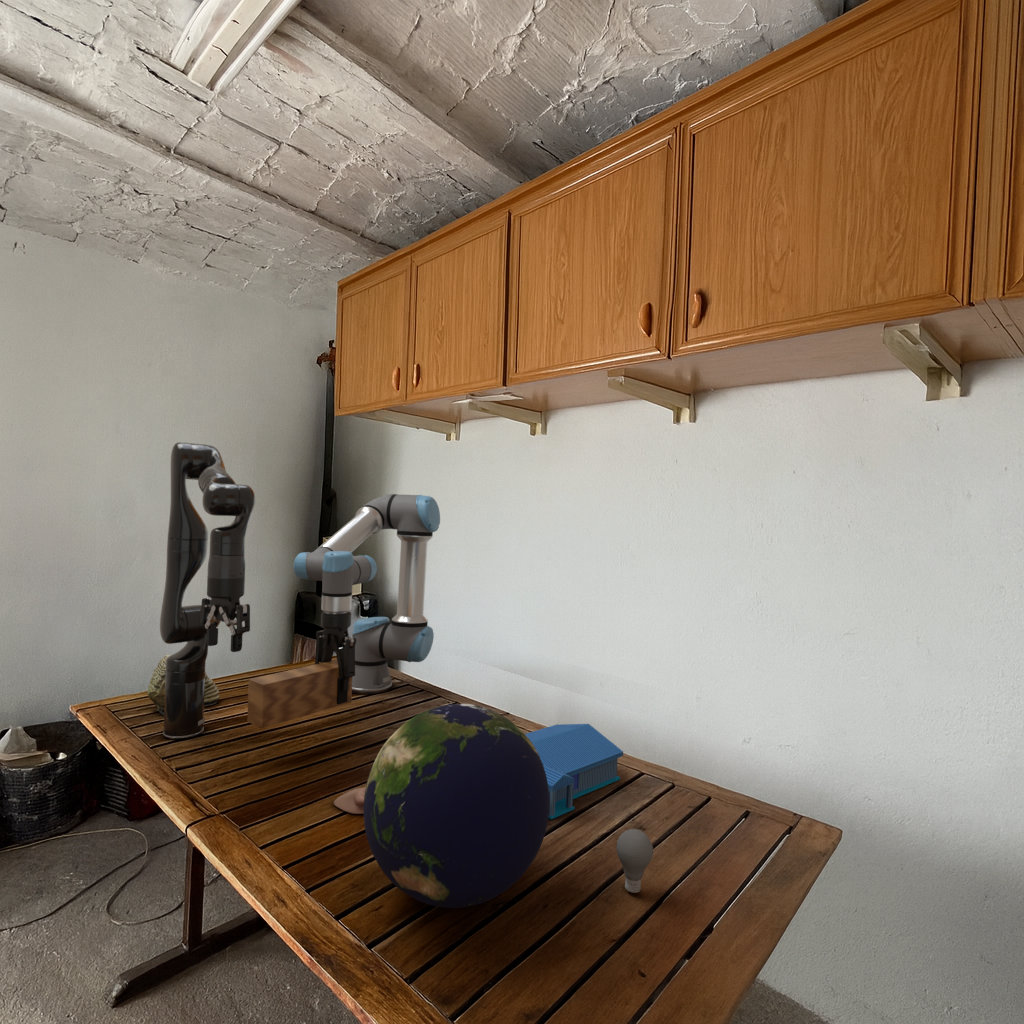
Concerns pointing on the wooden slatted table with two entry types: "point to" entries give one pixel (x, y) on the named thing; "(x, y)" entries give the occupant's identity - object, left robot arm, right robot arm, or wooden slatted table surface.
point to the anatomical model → (352, 801)
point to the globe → (456, 806)
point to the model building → (574, 762)
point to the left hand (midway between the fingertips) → (223, 648)
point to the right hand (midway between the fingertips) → (333, 699)
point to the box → (293, 693)
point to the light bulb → (634, 857)
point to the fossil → (158, 687)
